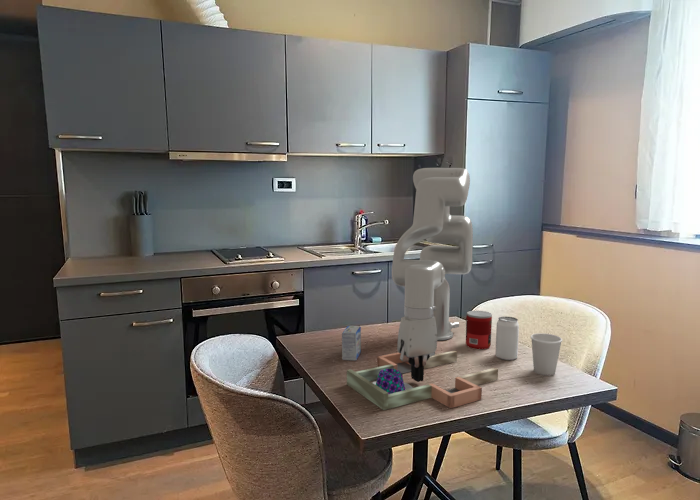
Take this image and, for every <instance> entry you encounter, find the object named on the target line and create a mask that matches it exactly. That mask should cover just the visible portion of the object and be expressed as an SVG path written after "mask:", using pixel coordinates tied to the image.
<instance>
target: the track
mask: <svg viewBox="0 0 700 500" xmlns="http://www.w3.org/2000/svg"><path fill="white" fill-rule="evenodd" d="M456 362H458V351H456V350H451V351H446V352H441V353H437V354H436V353H435V355H434V356H432V357H429V359H428V360H427V362H426V365H425V366H424V370H425V369H430V368H435V367H438V366H444V365H448V364H452V363H456ZM384 369H394V365H392V364H390V365H385V366H380V367H372V368H367V369H362V370H359V371H354V370H353V369H346V385H347V386H348V387H349V388H351V389H353V390H354V391H355V392H357V393H358V394H359V395H361V396H363V398H365V399H367V400H368V401H370V402H371V403H372V404H374V405H376V406H377V407H379V408H380V410H383V411H386V410H390V409H394V408H397V407H401V406H404V405H409V404H412V403H416V402H419V401H420V402H421V401H424V400H427V399H432V398H431V391H432V386H431V385H429V384H430V383H428V384H424V385H419V386H416V387H413V388H412V389H408V390H406V389H405V390H404V391H400V392H396V393H392V394H388V392H386V391H384V390H383V389H381V388H380V387H378V386H377V385H375V384H373V383H372V382H375V381H377V377H378V374H379V372H380V371H381V370H384ZM459 377H460V378H463V379H465V380H467V381H469V382H471V383H473V384H475V385H477V386H479V385H483V384H487V383H490V382H495V381H498V380H499V368H496V367H492V368H488V369H485V370H481V371H476V372H473V373H468V374H463V375H460V376H459Z"/></svg>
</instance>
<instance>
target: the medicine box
mask: <svg viewBox="0 0 700 500" xmlns="http://www.w3.org/2000/svg"><path fill="white" fill-rule="evenodd" d="M361 339H362V327H361V326H359V325H347V326H346V327H345V328H344V329H343V331H342V332H341V359H342V361H351V362H352V361H354V362H356V361H357V360H358V358H359V356H360V354H361V351H362V350H361V349H362V348H361V347H362V346H361V345H362V340H361Z"/></svg>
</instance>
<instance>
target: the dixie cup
mask: <svg viewBox="0 0 700 500" xmlns="http://www.w3.org/2000/svg"><path fill="white" fill-rule="evenodd" d="M530 339H531V350H532V352H531V353H532V364H533V366H532V367H533V372H534V373H535V374H538V375H542V376H554V375H555V374H556V370H557V365H558V360H559V357H560V356H559V355H560V352H561V351H560V350H561V346H562V342H563V338H562V337H561V336H558V335H555V334H551V333H545V332H544V333H540V332H538V333H533V334H530Z"/></svg>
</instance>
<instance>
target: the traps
mask: <svg viewBox="0 0 700 500" xmlns="http://www.w3.org/2000/svg"><path fill="white" fill-rule="evenodd" d="M400 356H401V353H399V352H398V351H397V352H393V353H389V354H384V355H383V354H382V355H379V356H377V358H376V360H377V361H376V366H377V367H380V366H385V365H390V364H392V365H394V369H395V370H399V371H400V372H401V374H402V375H404V374H408V373H411V365H410V364H409V362H403V361H401V360H400ZM428 384H429V385H431V386H432V391H431V398H430V399H433V400H434V401H437V402H438V403H441V405H444V406H446V407H448V408H449V409H453V408H457V407H460V406H463V405H467V404H470V403H474V402H477V401H480V400H482V396H483V395H482V391H483V388H482V387H481V386H479V385H475V384H473V383H471V382H469V381H467V380H465V379H463V378H460V376H457V377H455V378H454V388H450V389H446V390H445V389H443V388H441V387H440V386H438V385H436V384H435V383H428Z"/></svg>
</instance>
